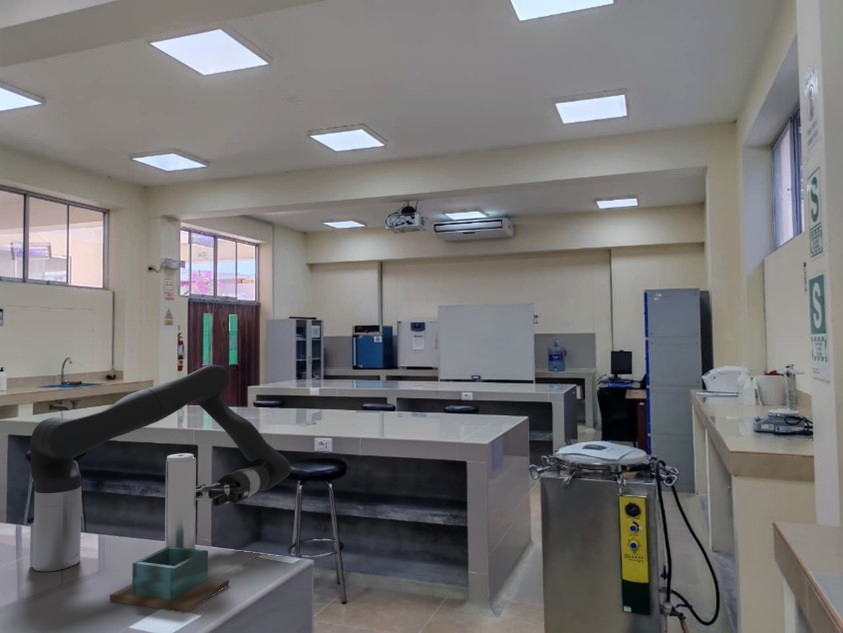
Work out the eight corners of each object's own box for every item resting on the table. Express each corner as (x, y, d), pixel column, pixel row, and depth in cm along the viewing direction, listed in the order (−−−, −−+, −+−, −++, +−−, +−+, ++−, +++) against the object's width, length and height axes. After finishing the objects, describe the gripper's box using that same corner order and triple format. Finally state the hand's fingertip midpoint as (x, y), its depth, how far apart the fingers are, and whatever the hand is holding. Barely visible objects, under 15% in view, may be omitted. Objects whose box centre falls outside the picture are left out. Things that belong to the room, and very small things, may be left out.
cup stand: (109, 601, 117) (110, 563, 117) (157, 575, 129) (157, 542, 129) (186, 612, 111) (187, 573, 112) (228, 585, 124) (228, 550, 124)
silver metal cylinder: (184, 572, 131) (185, 458, 132) (158, 570, 132) (159, 457, 133) (201, 562, 137) (202, 452, 138) (175, 560, 138) (177, 451, 139)
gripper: (216, 469, 159) (174, 483, 143) (262, 472, 155) (224, 486, 139) (215, 497, 159) (173, 514, 143) (262, 501, 154) (224, 519, 139)
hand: (198, 500), depth 141 cm, fingers open, 8 cm apart
